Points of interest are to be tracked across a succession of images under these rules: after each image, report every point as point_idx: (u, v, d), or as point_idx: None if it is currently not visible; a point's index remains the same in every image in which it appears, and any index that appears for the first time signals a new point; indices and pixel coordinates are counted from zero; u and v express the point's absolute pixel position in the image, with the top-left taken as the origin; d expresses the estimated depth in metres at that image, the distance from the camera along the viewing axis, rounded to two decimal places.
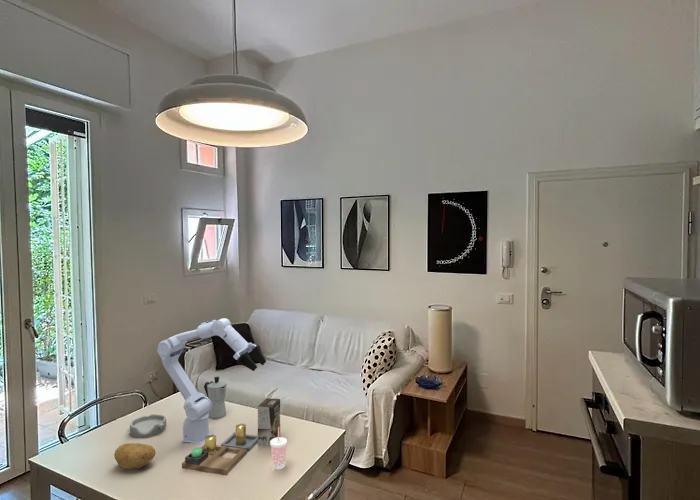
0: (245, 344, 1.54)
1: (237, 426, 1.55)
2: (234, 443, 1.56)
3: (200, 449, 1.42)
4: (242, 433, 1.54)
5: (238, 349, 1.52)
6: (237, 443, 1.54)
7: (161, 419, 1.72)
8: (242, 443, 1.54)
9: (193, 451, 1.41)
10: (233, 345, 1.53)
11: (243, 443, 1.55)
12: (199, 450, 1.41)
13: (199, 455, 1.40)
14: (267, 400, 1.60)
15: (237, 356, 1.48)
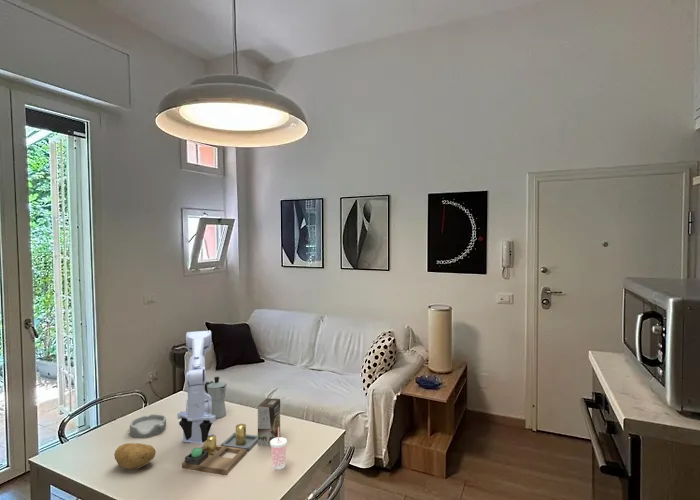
0: (189, 415, 1.39)
1: (237, 426, 1.55)
2: (234, 443, 1.56)
3: (200, 449, 1.42)
4: (242, 433, 1.54)
5: None
6: (237, 443, 1.54)
7: (161, 419, 1.72)
8: (242, 443, 1.54)
9: (193, 451, 1.41)
10: None
11: (243, 443, 1.55)
12: (199, 450, 1.41)
13: (199, 455, 1.40)
14: (267, 400, 1.60)
15: None
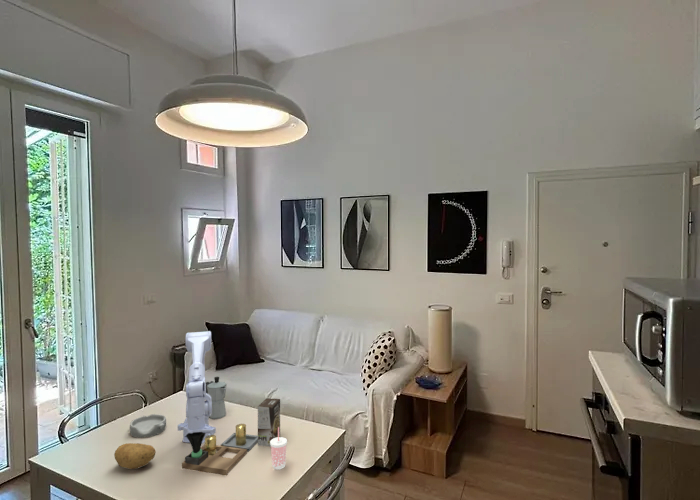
0: (189, 427, 1.39)
1: (237, 426, 1.55)
2: (234, 443, 1.56)
3: (200, 450, 1.42)
4: (242, 433, 1.54)
5: None
6: (237, 443, 1.54)
7: (161, 419, 1.72)
8: (242, 443, 1.54)
9: (193, 452, 1.41)
10: None
11: (243, 443, 1.55)
12: (199, 451, 1.41)
13: (199, 456, 1.40)
14: (267, 400, 1.60)
15: None
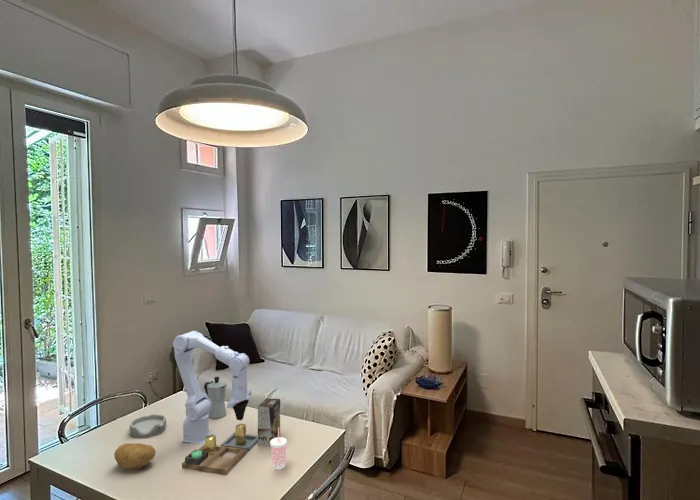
0: (244, 396, 1.54)
1: (237, 426, 1.55)
2: (234, 443, 1.56)
3: (200, 452, 1.42)
4: (242, 433, 1.54)
5: (235, 396, 1.53)
6: (237, 443, 1.54)
7: (161, 419, 1.72)
8: (242, 443, 1.54)
9: (193, 454, 1.41)
10: (235, 389, 1.53)
11: (243, 443, 1.55)
12: (199, 453, 1.41)
13: None
14: (267, 400, 1.60)
15: (230, 407, 1.48)
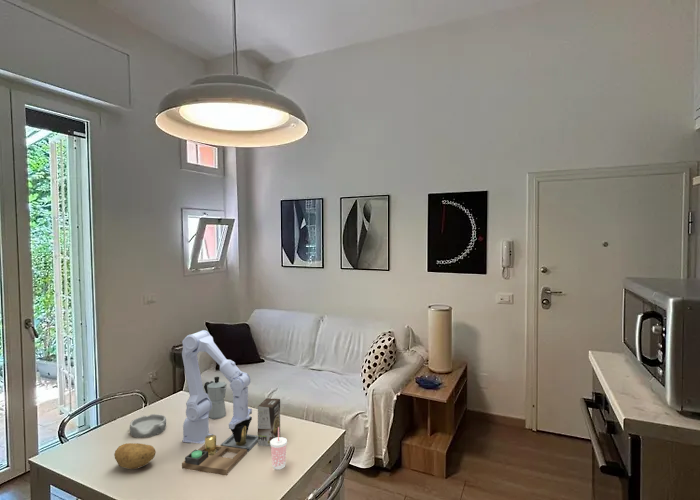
0: (245, 415, 1.54)
1: None
2: (234, 443, 1.56)
3: (200, 452, 1.42)
4: (242, 433, 1.54)
5: (237, 416, 1.53)
6: (237, 443, 1.54)
7: (161, 419, 1.72)
8: (242, 443, 1.54)
9: (193, 454, 1.41)
10: (236, 409, 1.53)
11: (243, 443, 1.55)
12: (199, 453, 1.41)
13: None
14: (267, 400, 1.60)
15: (231, 427, 1.49)
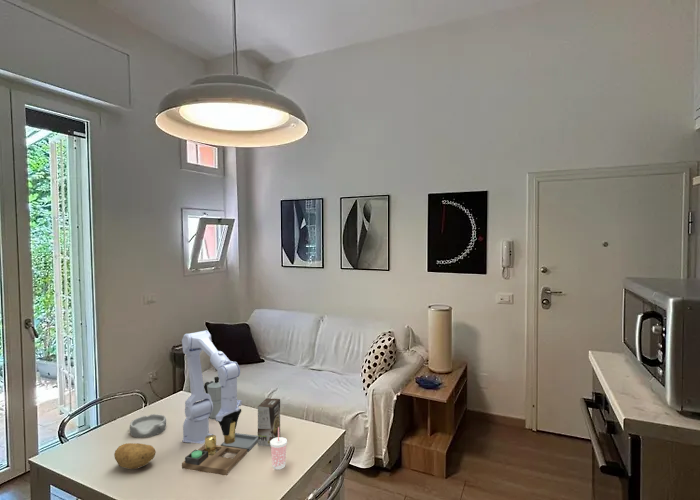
0: (234, 407, 1.44)
1: None
2: (234, 443, 1.56)
3: (200, 452, 1.42)
4: (230, 430, 1.44)
5: (225, 407, 1.43)
6: (225, 441, 1.44)
7: (161, 419, 1.72)
8: (231, 441, 1.44)
9: (193, 454, 1.41)
10: (224, 400, 1.43)
11: (232, 441, 1.45)
12: (199, 453, 1.41)
13: None
14: (267, 400, 1.60)
15: (219, 419, 1.39)
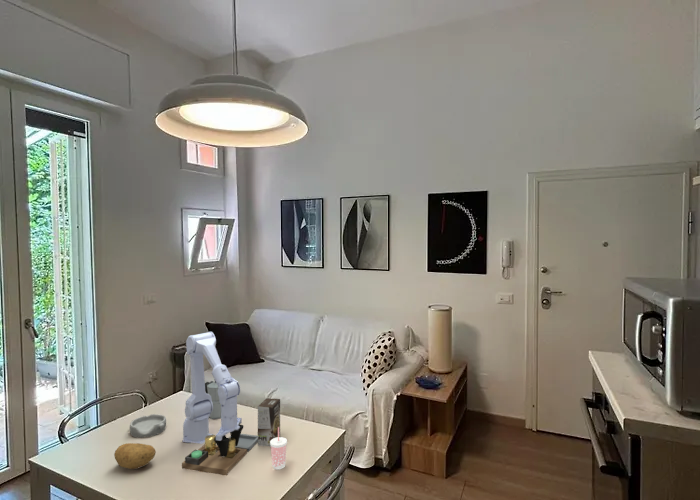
0: (234, 426, 1.44)
1: None
2: None
3: (200, 452, 1.42)
4: (230, 447, 1.44)
5: (225, 426, 1.43)
6: None
7: (161, 419, 1.72)
8: None
9: (193, 454, 1.41)
10: (224, 419, 1.43)
11: None
12: (199, 453, 1.41)
13: None
14: (267, 400, 1.60)
15: (219, 439, 1.39)
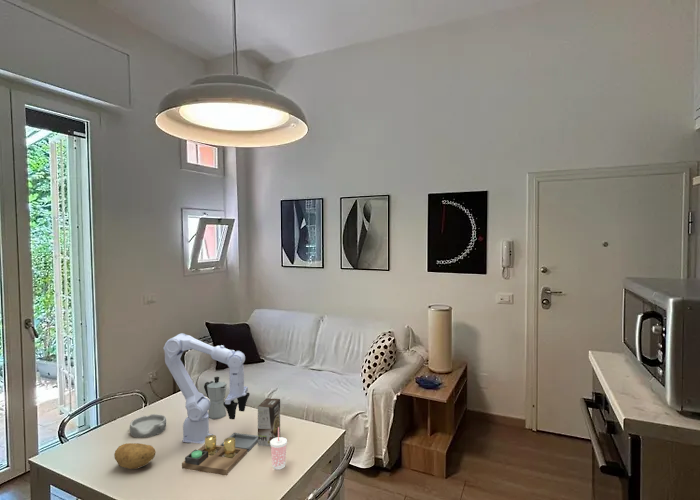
0: (241, 392, 1.59)
1: (226, 440, 1.46)
2: None
3: (200, 452, 1.42)
4: (230, 447, 1.44)
5: (233, 392, 1.58)
6: None
7: (161, 419, 1.72)
8: None
9: (193, 454, 1.41)
10: (232, 386, 1.58)
11: None
12: (199, 453, 1.41)
13: None
14: (267, 400, 1.60)
15: (228, 403, 1.54)
